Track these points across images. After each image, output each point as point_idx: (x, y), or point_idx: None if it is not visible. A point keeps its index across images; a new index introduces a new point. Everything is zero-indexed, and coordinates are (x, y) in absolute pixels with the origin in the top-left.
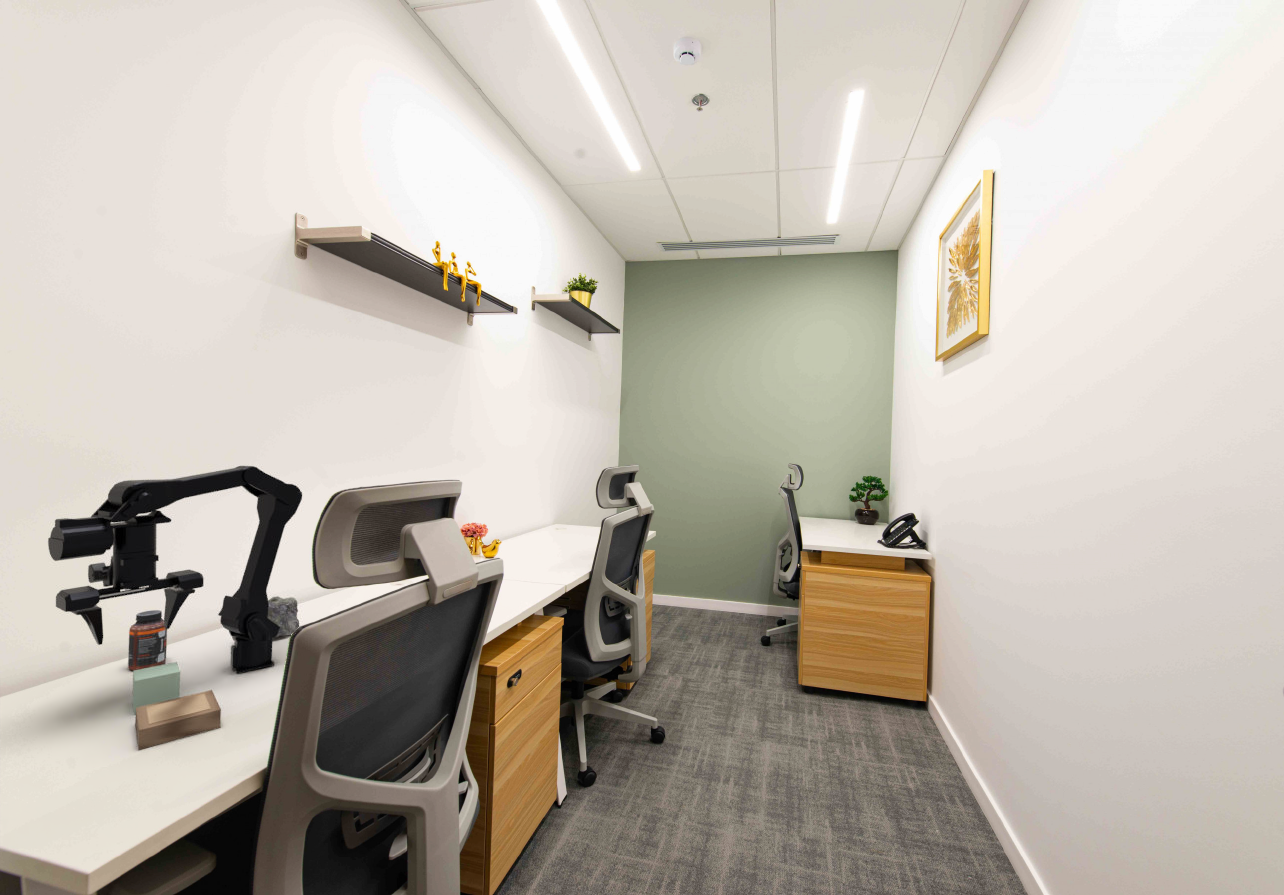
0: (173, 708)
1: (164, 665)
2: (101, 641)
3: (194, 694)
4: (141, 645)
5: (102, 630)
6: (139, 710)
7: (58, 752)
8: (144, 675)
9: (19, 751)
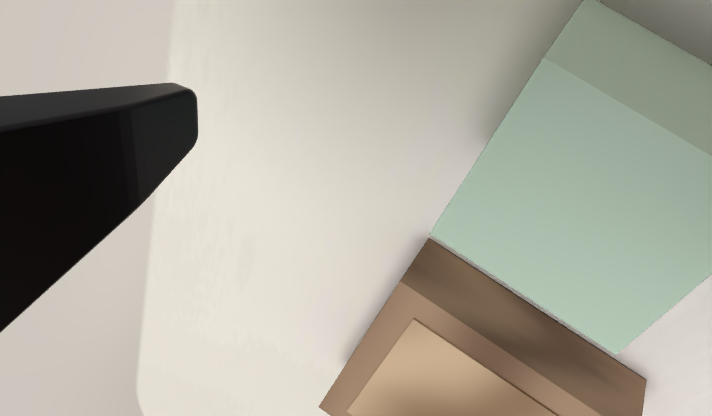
0: (443, 411)
1: (694, 179)
2: (170, 164)
3: (573, 402)
4: None
5: (75, 264)
6: (391, 311)
7: (244, 176)
8: (502, 213)
9: (187, 52)
